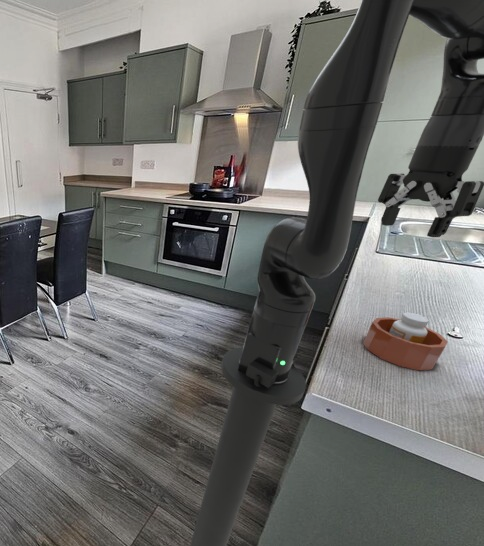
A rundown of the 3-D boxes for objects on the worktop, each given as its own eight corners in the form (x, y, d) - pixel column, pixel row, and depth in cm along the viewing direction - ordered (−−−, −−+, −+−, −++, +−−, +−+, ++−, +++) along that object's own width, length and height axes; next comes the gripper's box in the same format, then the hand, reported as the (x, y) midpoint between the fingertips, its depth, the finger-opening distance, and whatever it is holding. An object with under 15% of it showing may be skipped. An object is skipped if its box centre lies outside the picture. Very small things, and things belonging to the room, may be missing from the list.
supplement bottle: (413, 353, 71) (433, 317, 68) (413, 363, 68) (434, 326, 64) (382, 343, 75) (399, 308, 71) (380, 352, 72) (398, 316, 68)
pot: (427, 377, 64) (441, 354, 62) (357, 348, 73) (366, 327, 70) (438, 357, 70) (451, 335, 68) (372, 332, 79) (381, 312, 76)
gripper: (388, 143, 62) (358, 222, 69) (480, 144, 49) (433, 242, 56) (421, 143, 63) (389, 221, 69) (521, 144, 50) (470, 240, 56)
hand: (409, 230), depth 62 cm, fingers open, 8 cm apart
